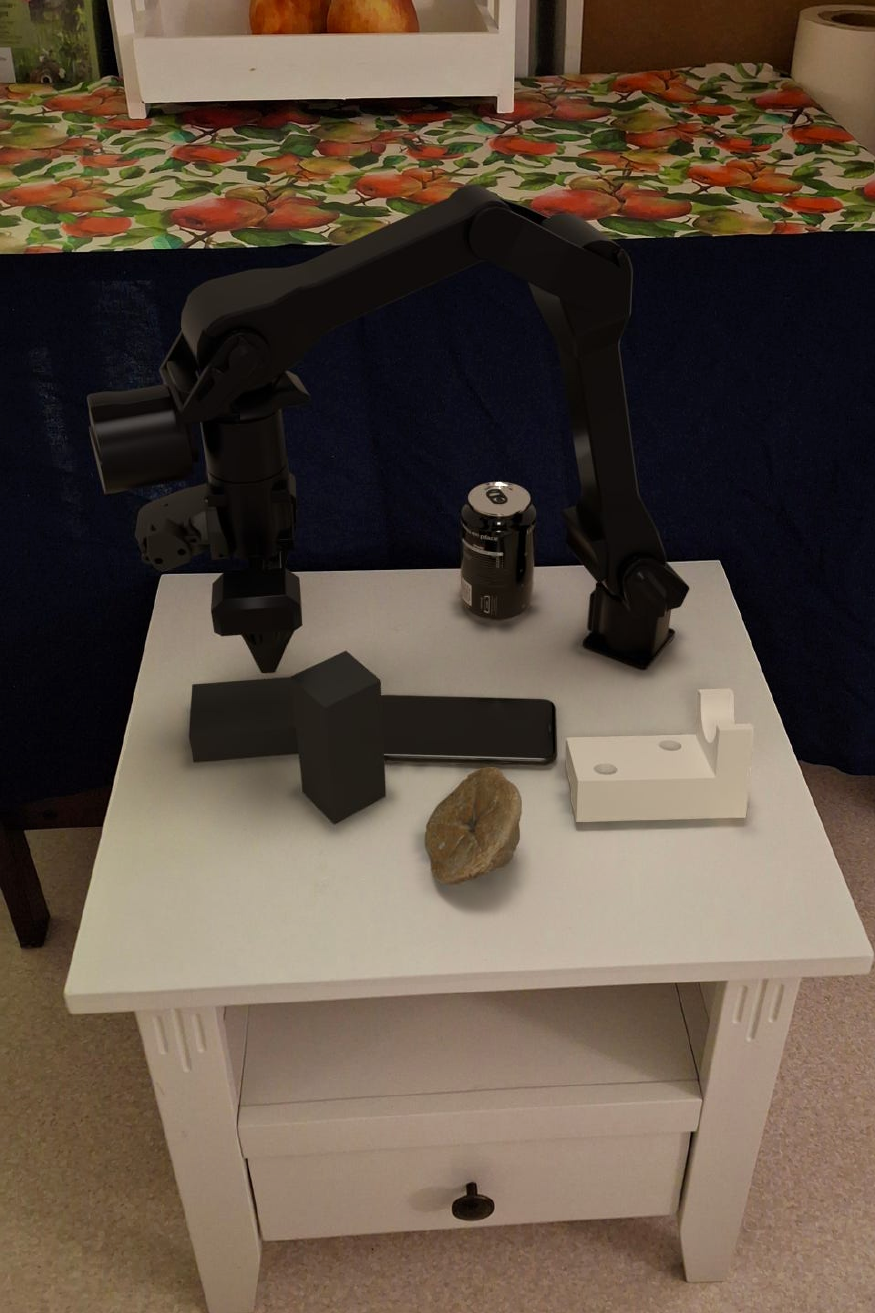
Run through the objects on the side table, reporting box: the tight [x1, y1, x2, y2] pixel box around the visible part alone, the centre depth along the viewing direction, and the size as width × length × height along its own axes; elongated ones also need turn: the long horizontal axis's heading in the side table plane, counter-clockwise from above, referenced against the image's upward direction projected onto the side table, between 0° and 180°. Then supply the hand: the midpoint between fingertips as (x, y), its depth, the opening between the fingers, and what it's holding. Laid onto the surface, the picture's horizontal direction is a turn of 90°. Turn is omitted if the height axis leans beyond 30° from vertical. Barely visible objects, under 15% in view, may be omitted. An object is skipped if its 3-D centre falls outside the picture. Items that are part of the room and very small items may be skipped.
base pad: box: [188, 676, 299, 763], centre depth 102 cm, size 12×6×3 cm, turn 96°
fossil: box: [424, 766, 523, 886], centre depth 90 cm, size 9×4×10 cm
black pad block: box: [290, 650, 387, 825], centre depth 93 cm, size 5×4×12 cm
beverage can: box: [460, 481, 538, 622], centre depth 113 cm, size 7×7×12 cm
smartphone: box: [381, 694, 558, 767], centre depth 102 cm, size 8×1×16 cm
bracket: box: [564, 688, 756, 823], centre depth 95 cm, size 13×7×8 cm, turn 92°
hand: (268, 635), depth 97 cm, fingers open, 9 cm apart
